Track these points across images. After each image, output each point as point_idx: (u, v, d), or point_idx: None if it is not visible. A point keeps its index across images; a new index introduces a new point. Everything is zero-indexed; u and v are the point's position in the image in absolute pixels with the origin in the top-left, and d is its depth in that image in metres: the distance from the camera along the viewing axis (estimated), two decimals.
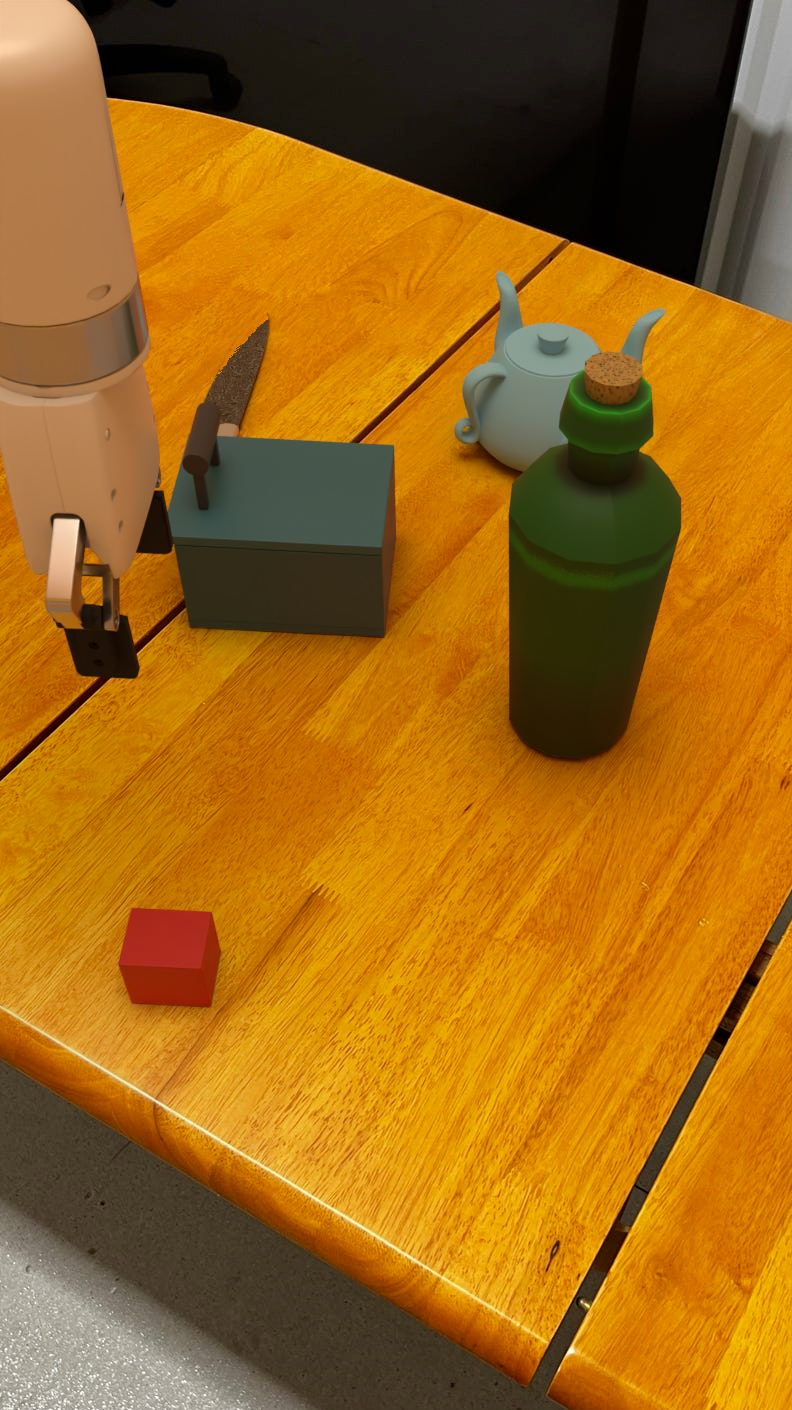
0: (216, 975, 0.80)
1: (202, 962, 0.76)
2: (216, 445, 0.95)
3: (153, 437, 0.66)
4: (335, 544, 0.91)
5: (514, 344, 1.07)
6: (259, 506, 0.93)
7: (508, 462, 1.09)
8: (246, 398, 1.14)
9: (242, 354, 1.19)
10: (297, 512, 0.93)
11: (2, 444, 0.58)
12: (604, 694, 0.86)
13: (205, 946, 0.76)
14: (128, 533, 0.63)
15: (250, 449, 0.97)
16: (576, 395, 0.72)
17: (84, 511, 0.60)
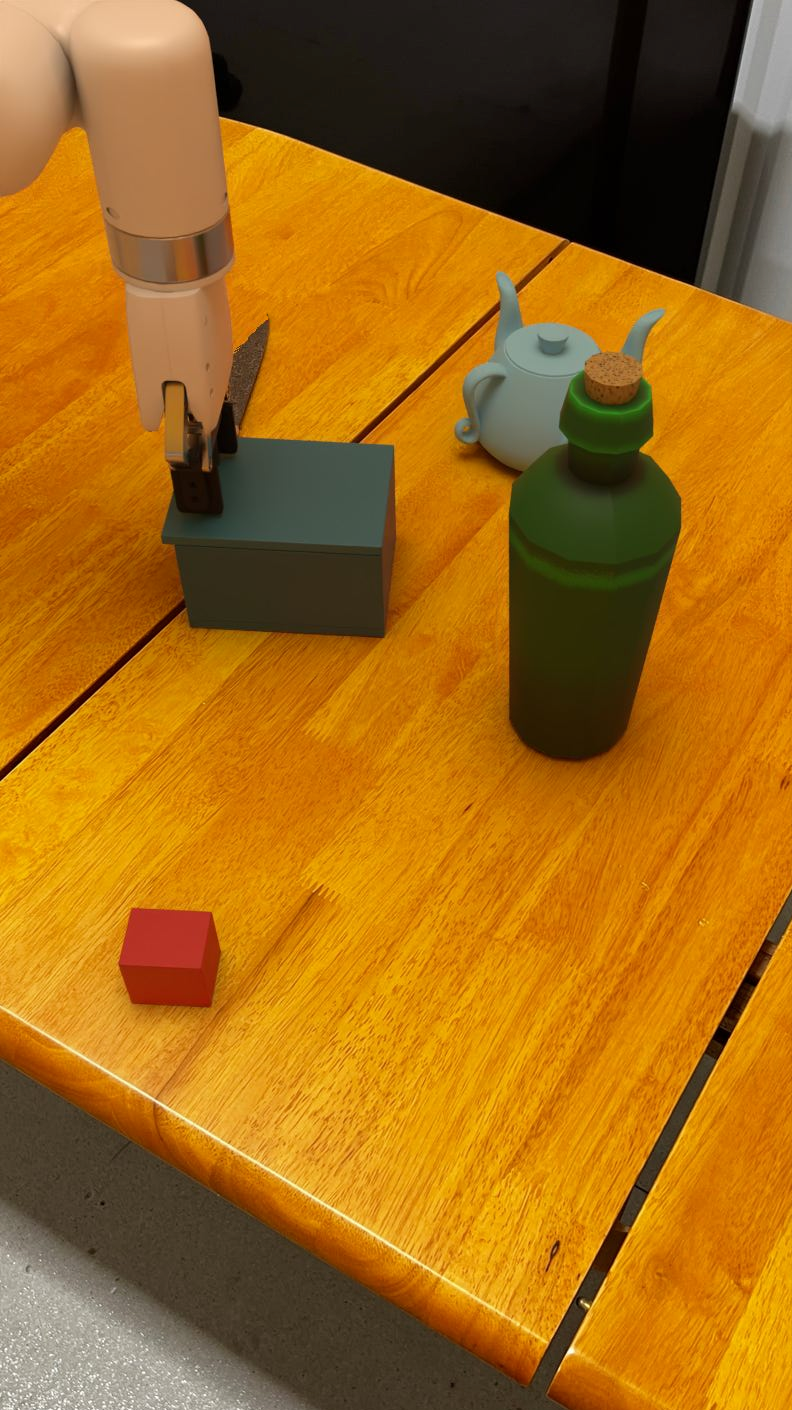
0: (216, 975, 0.80)
1: (202, 962, 0.76)
2: (216, 445, 0.95)
3: (230, 333, 0.88)
4: (335, 544, 0.91)
5: (514, 344, 1.07)
6: (259, 506, 0.93)
7: (508, 462, 1.09)
8: (246, 398, 1.14)
9: (242, 354, 1.19)
10: (297, 512, 0.93)
11: (130, 327, 0.80)
12: (604, 694, 0.86)
13: (205, 946, 0.76)
14: (215, 399, 0.85)
15: (250, 449, 0.97)
16: (576, 395, 0.72)
17: (186, 379, 0.82)
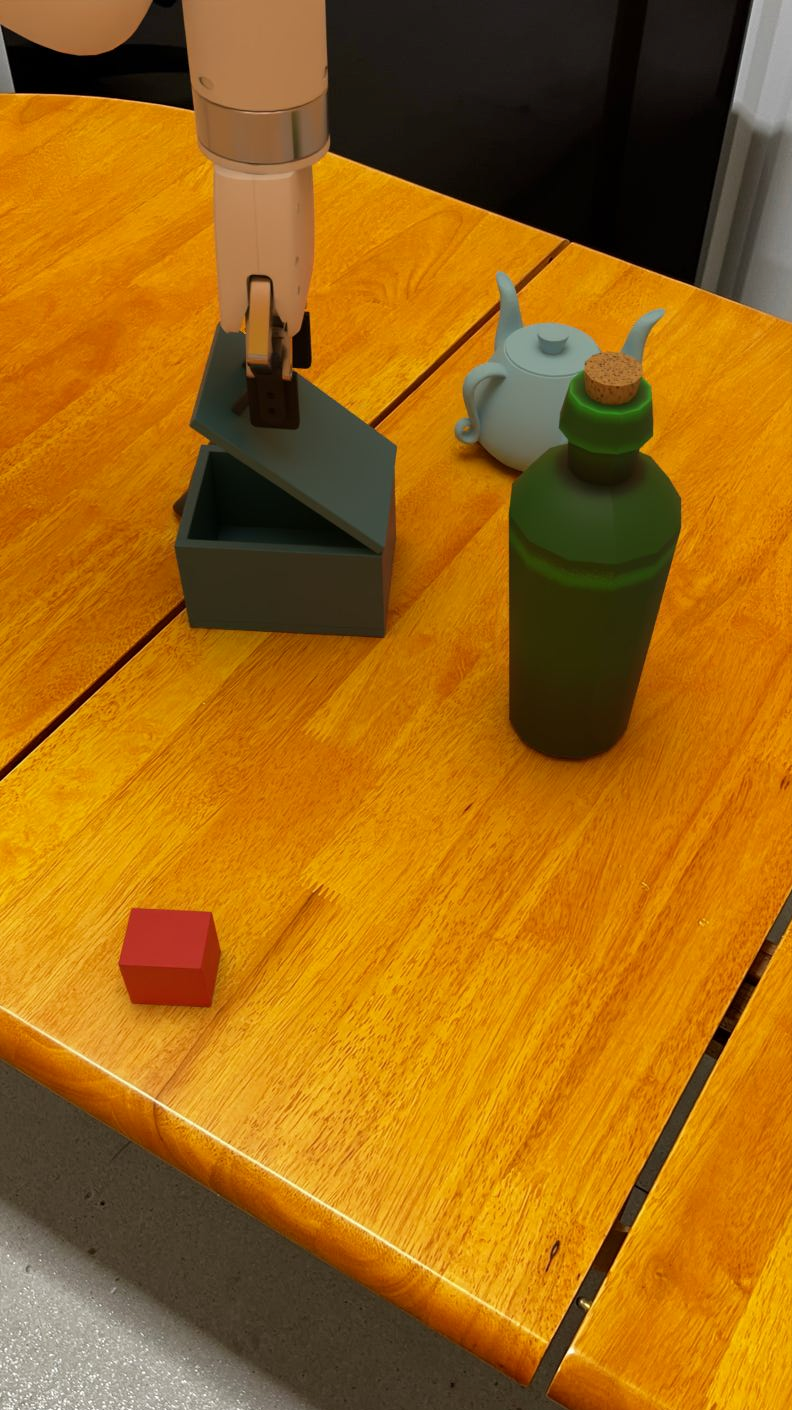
0: (216, 975, 0.80)
1: (202, 962, 0.76)
2: None
3: (314, 232, 0.83)
4: (348, 522, 0.90)
5: (514, 344, 1.07)
6: (285, 440, 0.89)
7: (508, 462, 1.09)
8: None
9: None
10: (317, 468, 0.90)
11: (217, 213, 0.74)
12: (603, 694, 0.86)
13: (205, 946, 0.76)
14: (301, 299, 0.79)
15: None
16: (576, 396, 0.72)
17: (274, 273, 0.76)
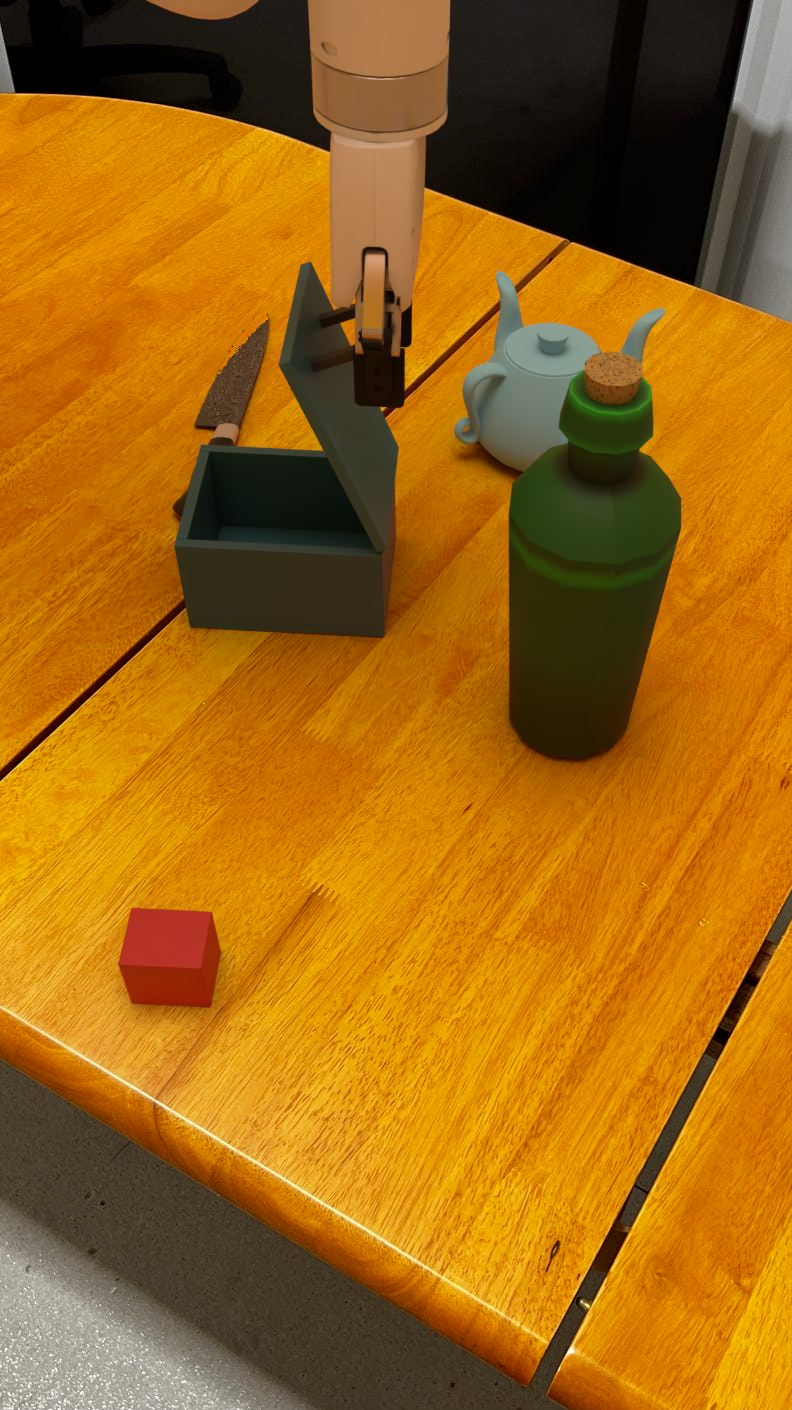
0: (216, 975, 0.80)
1: (202, 962, 0.76)
2: None
3: None
4: (368, 514, 0.89)
5: (514, 344, 1.07)
6: (338, 411, 0.87)
7: (508, 462, 1.09)
8: (246, 398, 1.14)
9: (242, 354, 1.19)
10: (355, 449, 0.89)
11: (334, 183, 0.73)
12: (604, 694, 0.86)
13: (205, 946, 0.76)
14: (414, 273, 0.78)
15: (339, 336, 0.90)
16: (576, 396, 0.72)
17: (390, 245, 0.75)
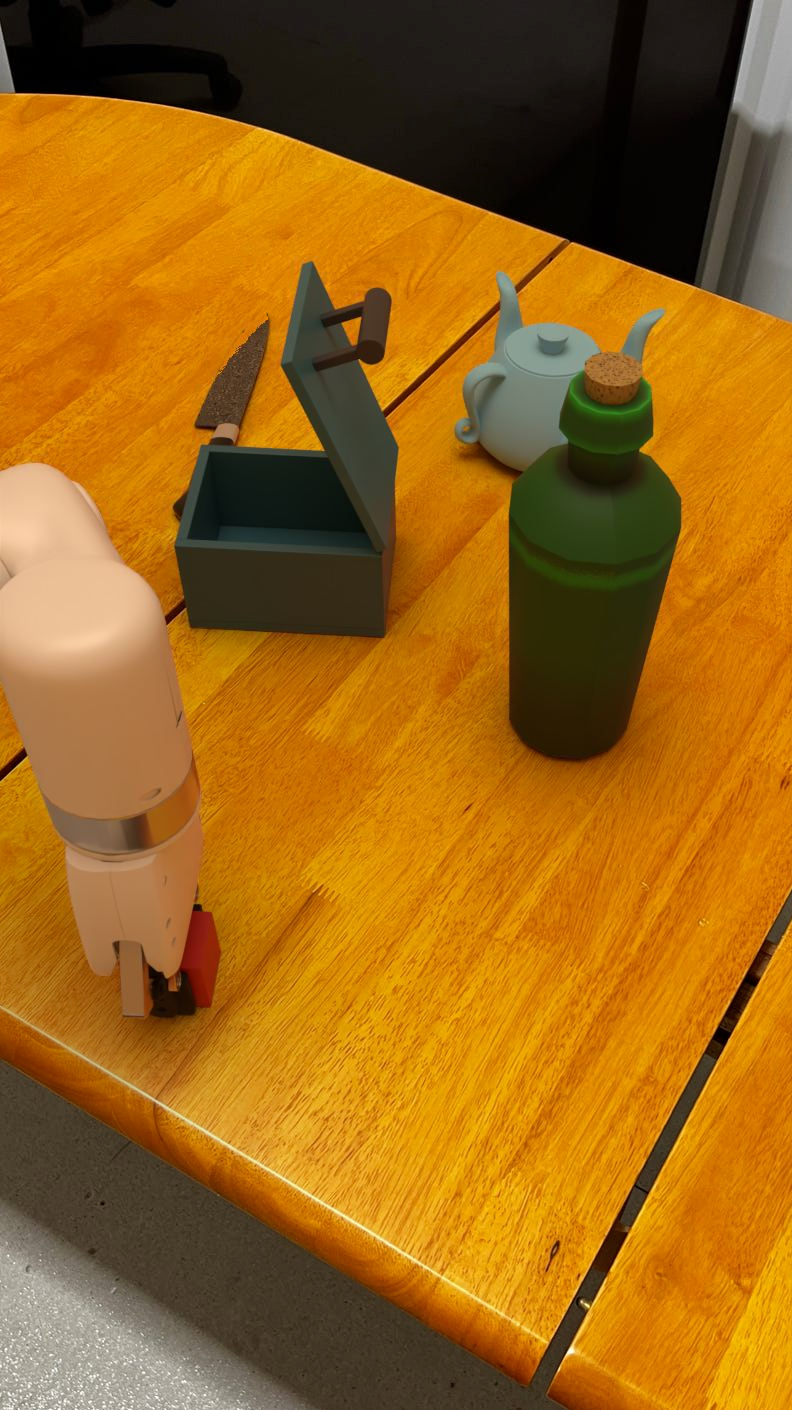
0: (216, 975, 0.80)
1: (202, 962, 0.76)
2: None
3: (199, 836, 0.74)
4: (368, 514, 0.89)
5: (514, 344, 1.07)
6: (340, 411, 0.87)
7: (508, 462, 1.09)
8: (246, 398, 1.14)
9: (242, 354, 1.19)
10: (355, 449, 0.89)
11: (72, 894, 0.65)
12: (604, 694, 0.86)
13: (205, 946, 0.76)
14: (179, 941, 0.70)
15: (340, 336, 0.90)
16: (576, 395, 0.72)
17: (142, 939, 0.68)
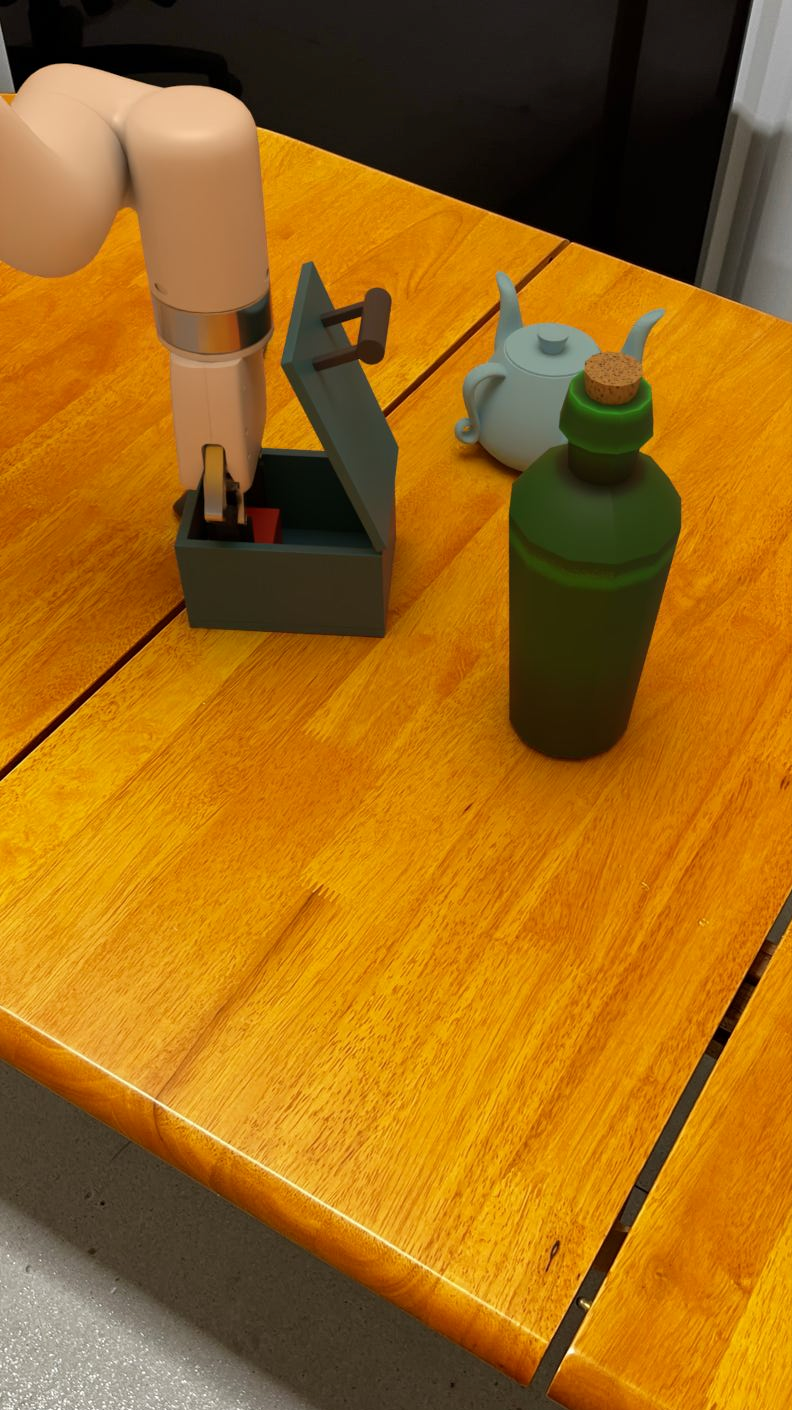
0: None
1: (273, 540, 0.97)
2: None
3: (265, 394, 0.92)
4: (368, 514, 0.89)
5: (514, 344, 1.07)
6: (340, 411, 0.87)
7: (508, 462, 1.09)
8: None
9: None
10: (355, 449, 0.89)
11: (173, 394, 0.84)
12: (604, 694, 0.86)
13: (275, 530, 0.97)
14: (252, 460, 0.89)
15: (340, 336, 0.90)
16: (576, 395, 0.72)
17: (226, 442, 0.86)
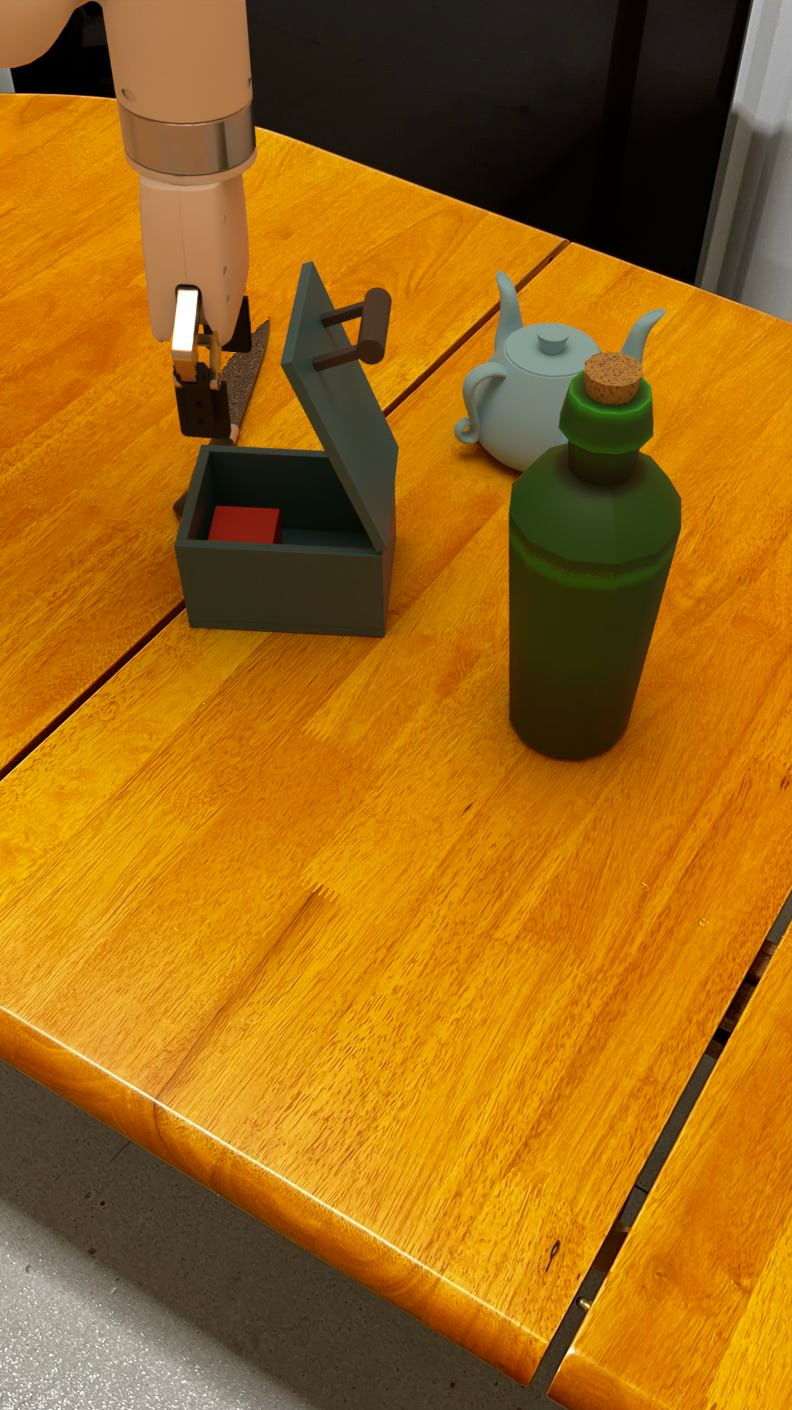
0: None
1: (273, 540, 0.97)
2: None
3: (247, 241, 0.83)
4: (368, 514, 0.89)
5: (513, 344, 1.07)
6: (340, 411, 0.87)
7: (508, 462, 1.09)
8: (246, 398, 1.14)
9: (242, 354, 1.19)
10: (355, 449, 0.89)
11: (143, 223, 0.75)
12: (604, 694, 0.86)
13: (275, 530, 0.97)
14: (231, 308, 0.80)
15: (340, 336, 0.90)
16: (576, 395, 0.72)
17: (202, 283, 0.77)
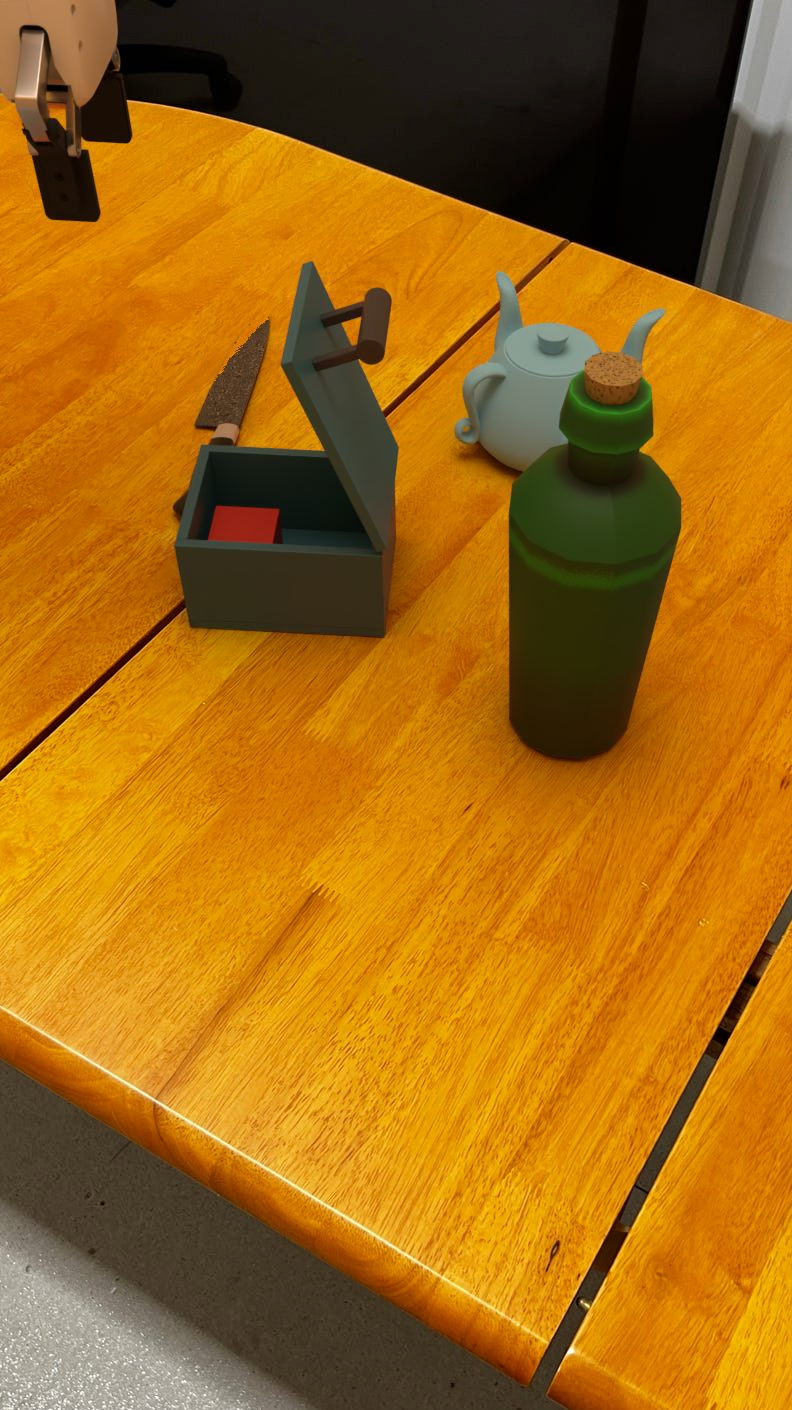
0: None
1: (273, 540, 0.97)
2: None
3: None
4: (368, 514, 0.89)
5: (514, 344, 1.07)
6: (340, 411, 0.87)
7: (508, 462, 1.09)
8: (246, 398, 1.14)
9: (242, 354, 1.19)
10: (355, 449, 0.89)
11: None
12: (604, 694, 0.86)
13: (275, 530, 0.97)
14: (87, 61, 0.73)
15: (340, 336, 0.90)
16: (576, 395, 0.72)
17: (48, 23, 0.70)
